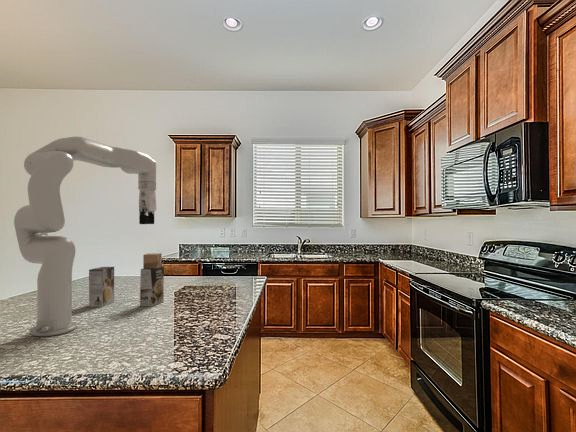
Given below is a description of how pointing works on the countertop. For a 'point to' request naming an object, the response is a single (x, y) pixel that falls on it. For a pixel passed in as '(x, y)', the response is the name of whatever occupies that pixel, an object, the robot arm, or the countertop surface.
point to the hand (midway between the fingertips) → (147, 224)
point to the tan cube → (152, 260)
